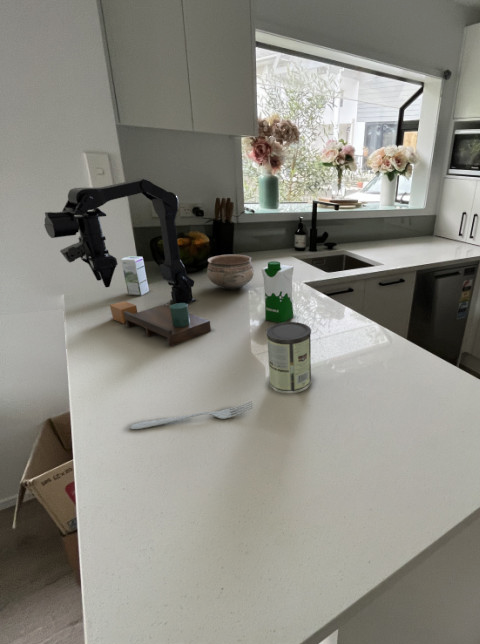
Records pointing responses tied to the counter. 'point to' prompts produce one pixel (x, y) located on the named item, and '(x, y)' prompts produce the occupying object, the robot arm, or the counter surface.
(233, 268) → the cooking pot
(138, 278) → the syrup box
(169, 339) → the shelf
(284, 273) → the milk carton
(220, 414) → the fork
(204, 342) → the counter surface
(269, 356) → the coffee can
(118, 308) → the kraft box
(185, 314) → the tea tin
